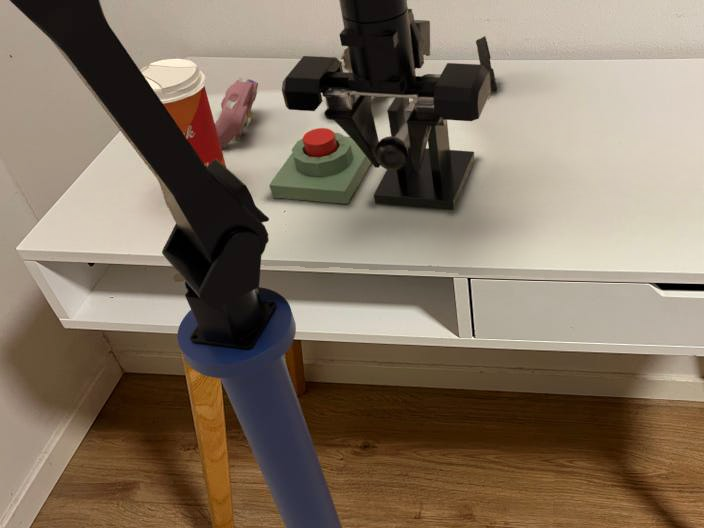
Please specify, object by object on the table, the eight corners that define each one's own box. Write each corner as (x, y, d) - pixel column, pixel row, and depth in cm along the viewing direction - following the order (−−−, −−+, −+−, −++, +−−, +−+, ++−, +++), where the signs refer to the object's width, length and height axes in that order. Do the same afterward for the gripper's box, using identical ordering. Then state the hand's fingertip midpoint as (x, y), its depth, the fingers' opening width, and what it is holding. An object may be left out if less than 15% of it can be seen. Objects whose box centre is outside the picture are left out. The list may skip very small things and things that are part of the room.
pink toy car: (238, 161, 97) (250, 113, 93) (201, 147, 96) (211, 99, 91) (256, 120, 104) (267, 74, 99) (221, 107, 103) (231, 60, 98)
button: (331, 159, 88) (328, 145, 86) (301, 157, 88) (297, 143, 87) (342, 142, 90) (339, 128, 89) (312, 140, 91) (309, 126, 89)
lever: (403, 177, 76) (400, 145, 74) (372, 174, 77) (368, 143, 75) (437, 127, 85) (435, 98, 83) (408, 125, 86) (406, 96, 84)
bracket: (453, 210, 85) (445, 128, 78) (374, 203, 87) (359, 123, 80) (474, 160, 92) (469, 80, 84) (401, 155, 93) (389, 76, 86)
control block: (347, 204, 87) (341, 177, 84) (272, 197, 89) (264, 170, 86) (378, 151, 94) (373, 124, 92) (308, 145, 96) (302, 119, 93)
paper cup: (158, 199, 90) (109, 83, 80) (203, 164, 94) (162, 51, 84) (210, 215, 87) (166, 97, 77) (254, 179, 91) (218, 63, 81)
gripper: (499, -24, 71) (505, 131, 83) (308, -29, 75) (338, 120, 86) (471, 29, 64) (482, 191, 75) (260, 20, 68) (300, 177, 79)
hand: (398, 167), depth 79 cm, fingers open, 4 cm apart
